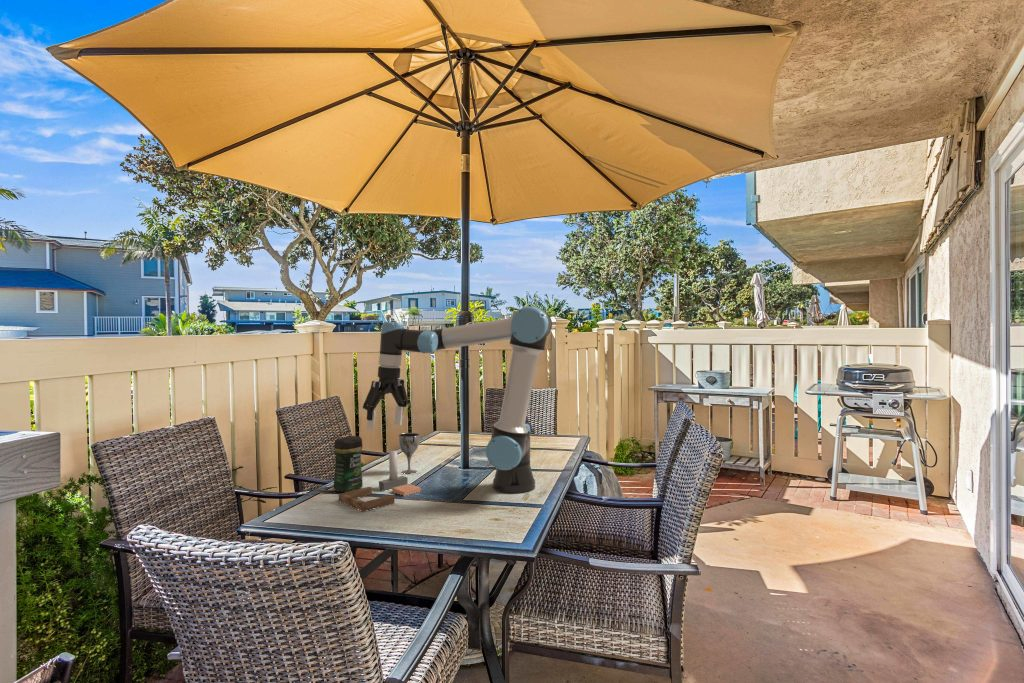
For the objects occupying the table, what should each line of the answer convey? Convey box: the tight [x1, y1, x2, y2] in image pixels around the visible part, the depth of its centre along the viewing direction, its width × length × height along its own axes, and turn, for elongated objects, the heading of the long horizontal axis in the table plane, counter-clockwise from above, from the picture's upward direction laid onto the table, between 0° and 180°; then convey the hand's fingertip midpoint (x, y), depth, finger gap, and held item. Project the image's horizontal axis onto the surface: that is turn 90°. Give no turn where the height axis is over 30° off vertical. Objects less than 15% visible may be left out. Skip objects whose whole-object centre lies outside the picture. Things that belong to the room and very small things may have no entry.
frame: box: [338, 486, 395, 512], centre depth 179 cm, size 15×12×2 cm
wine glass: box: [398, 432, 420, 475], centre depth 216 cm, size 8×8×15 cm
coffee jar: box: [333, 435, 364, 493], centre depth 194 cm, size 10×8×19 cm
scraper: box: [378, 450, 409, 492], centre depth 195 cm, size 10×3×13 cm, turn 136°
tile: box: [391, 483, 422, 497], centre depth 190 cm, size 7×7×2 cm
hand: (384, 427), depth 190 cm, fingers open, 13 cm apart
